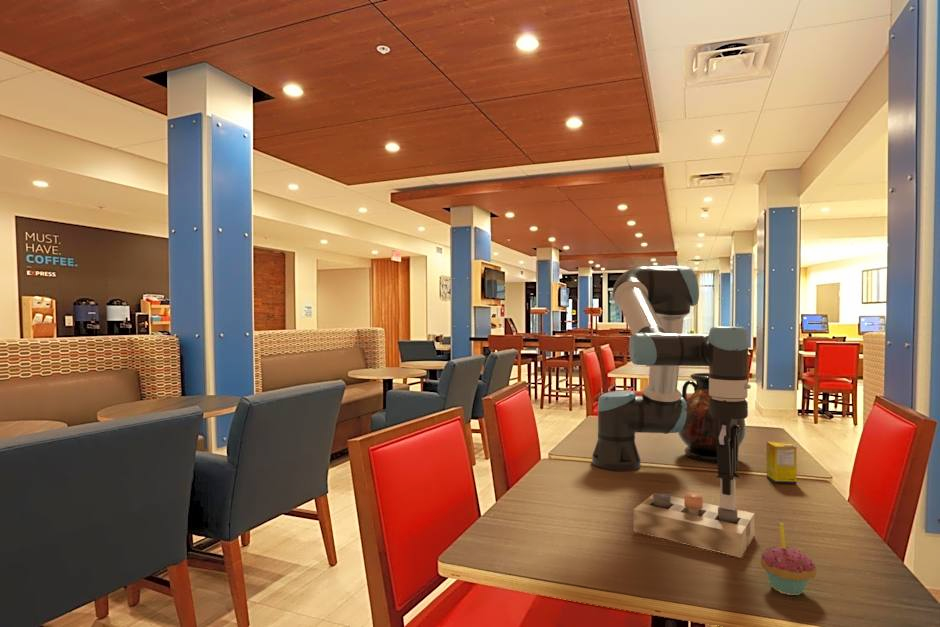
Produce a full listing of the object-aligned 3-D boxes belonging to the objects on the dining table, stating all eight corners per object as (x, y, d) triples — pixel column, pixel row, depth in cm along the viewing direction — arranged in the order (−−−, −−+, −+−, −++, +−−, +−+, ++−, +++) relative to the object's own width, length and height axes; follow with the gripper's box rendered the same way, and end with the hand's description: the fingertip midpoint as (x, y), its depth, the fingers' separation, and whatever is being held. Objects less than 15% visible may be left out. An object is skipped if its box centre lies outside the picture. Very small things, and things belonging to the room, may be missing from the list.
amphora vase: (754, 456, 185) (754, 374, 185) (733, 470, 169) (734, 380, 169) (690, 446, 199) (690, 370, 199) (666, 457, 184) (666, 375, 184)
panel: (633, 531, 122) (633, 509, 122) (654, 513, 133) (654, 492, 133) (741, 559, 108) (741, 534, 108) (754, 535, 119) (754, 513, 119)
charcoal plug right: (715, 533, 116) (716, 509, 116) (720, 527, 119) (720, 504, 119) (735, 537, 114) (735, 513, 114) (739, 531, 117) (739, 508, 117)
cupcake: (750, 578, 100) (750, 514, 100) (793, 576, 101) (793, 512, 101) (781, 603, 92) (781, 533, 92) (827, 601, 93) (828, 531, 93)
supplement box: (786, 478, 161) (787, 441, 161) (797, 484, 155) (797, 446, 155) (765, 477, 162) (766, 441, 162) (775, 484, 156) (775, 446, 156)
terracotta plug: (682, 518, 120) (682, 496, 120) (687, 513, 123) (687, 491, 123) (700, 522, 118) (700, 499, 118) (704, 517, 121) (704, 495, 121)
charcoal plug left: (650, 518, 124) (650, 496, 124) (656, 513, 127) (656, 491, 127) (667, 521, 122) (667, 499, 122) (672, 516, 125) (672, 495, 125)
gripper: (741, 404, 109) (740, 521, 109) (753, 396, 119) (752, 503, 119) (701, 400, 113) (701, 513, 113) (716, 393, 124) (716, 496, 124)
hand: (727, 508), depth 116 cm, fingers closed
